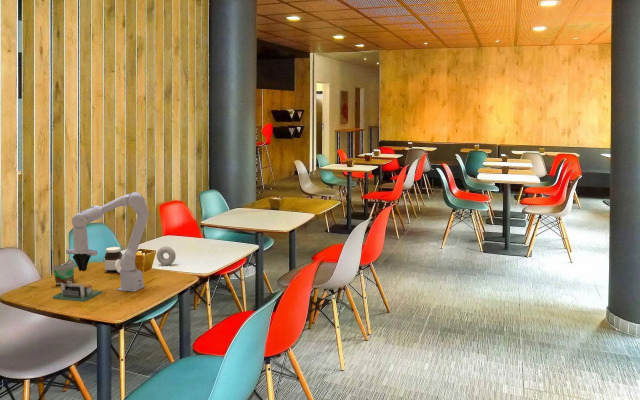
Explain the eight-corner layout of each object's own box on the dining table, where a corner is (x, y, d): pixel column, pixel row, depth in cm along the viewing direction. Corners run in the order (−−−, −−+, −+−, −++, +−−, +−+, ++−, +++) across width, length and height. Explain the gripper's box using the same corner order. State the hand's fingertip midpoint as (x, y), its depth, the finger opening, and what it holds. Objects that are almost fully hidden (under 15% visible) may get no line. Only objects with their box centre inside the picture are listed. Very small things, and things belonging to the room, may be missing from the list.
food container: (66, 287, 274) (64, 266, 273) (54, 286, 276) (52, 265, 274) (81, 280, 286) (80, 259, 285) (70, 279, 287) (68, 259, 286)
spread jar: (110, 268, 307) (109, 246, 305) (132, 268, 307) (131, 246, 305) (101, 274, 295) (99, 251, 293) (123, 274, 295) (122, 251, 293)
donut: (176, 264, 313) (176, 245, 312) (174, 266, 310) (174, 247, 309) (158, 264, 314) (157, 245, 313) (156, 265, 311) (155, 247, 309)
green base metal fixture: (53, 298, 258) (52, 286, 258) (71, 290, 270) (70, 278, 269) (84, 301, 254) (83, 288, 253) (102, 293, 265) (101, 280, 265)
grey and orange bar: (63, 286, 262) (63, 284, 262) (67, 285, 264) (67, 282, 264) (87, 288, 259) (87, 285, 258) (91, 287, 261) (90, 284, 261)
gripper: (60, 241, 261) (62, 271, 263) (89, 243, 257) (91, 274, 259) (71, 238, 267) (73, 267, 269) (99, 239, 264) (101, 269, 266)
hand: (82, 270), depth 265 cm, fingers closed
